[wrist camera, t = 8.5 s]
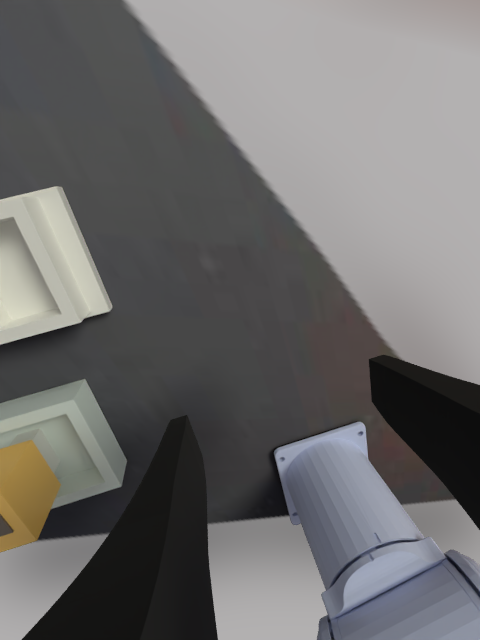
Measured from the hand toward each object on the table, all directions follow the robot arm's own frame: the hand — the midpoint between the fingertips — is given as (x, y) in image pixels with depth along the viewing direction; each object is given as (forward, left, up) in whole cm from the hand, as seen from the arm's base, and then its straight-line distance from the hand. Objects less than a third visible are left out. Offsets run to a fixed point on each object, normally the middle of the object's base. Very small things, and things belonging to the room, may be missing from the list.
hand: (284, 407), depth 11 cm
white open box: (+6, +11, -10) cm, 16 cm away
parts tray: (-5, +16, -10) cm, 19 cm away
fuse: (-5, +16, -9) cm, 19 cm away
